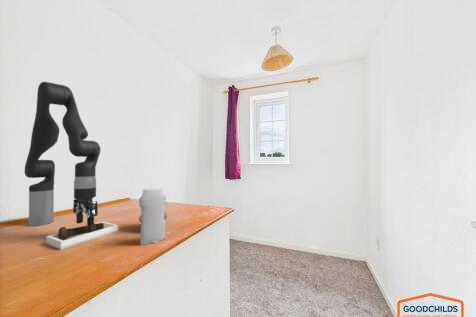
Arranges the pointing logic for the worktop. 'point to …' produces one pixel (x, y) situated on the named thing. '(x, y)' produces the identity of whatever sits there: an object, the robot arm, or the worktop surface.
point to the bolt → (78, 230)
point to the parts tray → (80, 237)
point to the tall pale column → (152, 215)
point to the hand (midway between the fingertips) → (85, 224)
